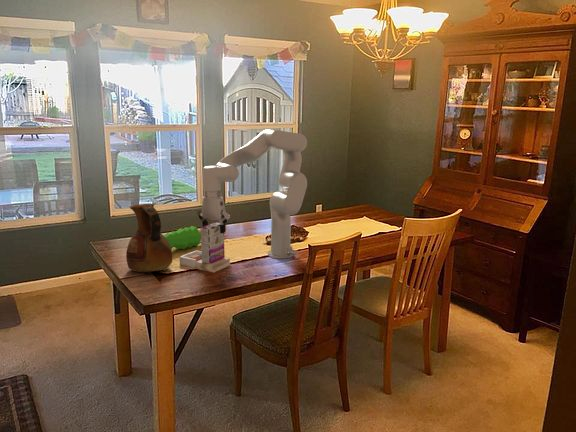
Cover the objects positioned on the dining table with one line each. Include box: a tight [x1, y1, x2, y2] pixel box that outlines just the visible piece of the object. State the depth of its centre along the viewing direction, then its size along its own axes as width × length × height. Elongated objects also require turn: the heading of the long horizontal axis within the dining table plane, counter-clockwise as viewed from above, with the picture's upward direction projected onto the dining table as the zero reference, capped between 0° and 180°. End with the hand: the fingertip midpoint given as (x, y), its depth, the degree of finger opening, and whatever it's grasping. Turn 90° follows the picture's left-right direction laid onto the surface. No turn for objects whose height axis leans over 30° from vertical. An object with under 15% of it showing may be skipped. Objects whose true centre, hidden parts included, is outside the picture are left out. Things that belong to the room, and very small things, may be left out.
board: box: [195, 257, 231, 273], centre depth 232 cm, size 10×12×3 cm
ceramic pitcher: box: [125, 203, 173, 273], centre depth 224 cm, size 20×20×30 cm
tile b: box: [190, 255, 200, 262], centre depth 234 cm, size 4×4×2 cm
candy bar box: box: [200, 221, 226, 264], centre depth 230 cm, size 11×5×16 cm, turn 150°
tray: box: [178, 250, 202, 269], centre depth 237 cm, size 9×12×4 cm
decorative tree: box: [163, 225, 201, 250], centre depth 257 cm, size 11×12×30 cm
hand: (214, 231), depth 229 cm, fingers open, 9 cm apart
